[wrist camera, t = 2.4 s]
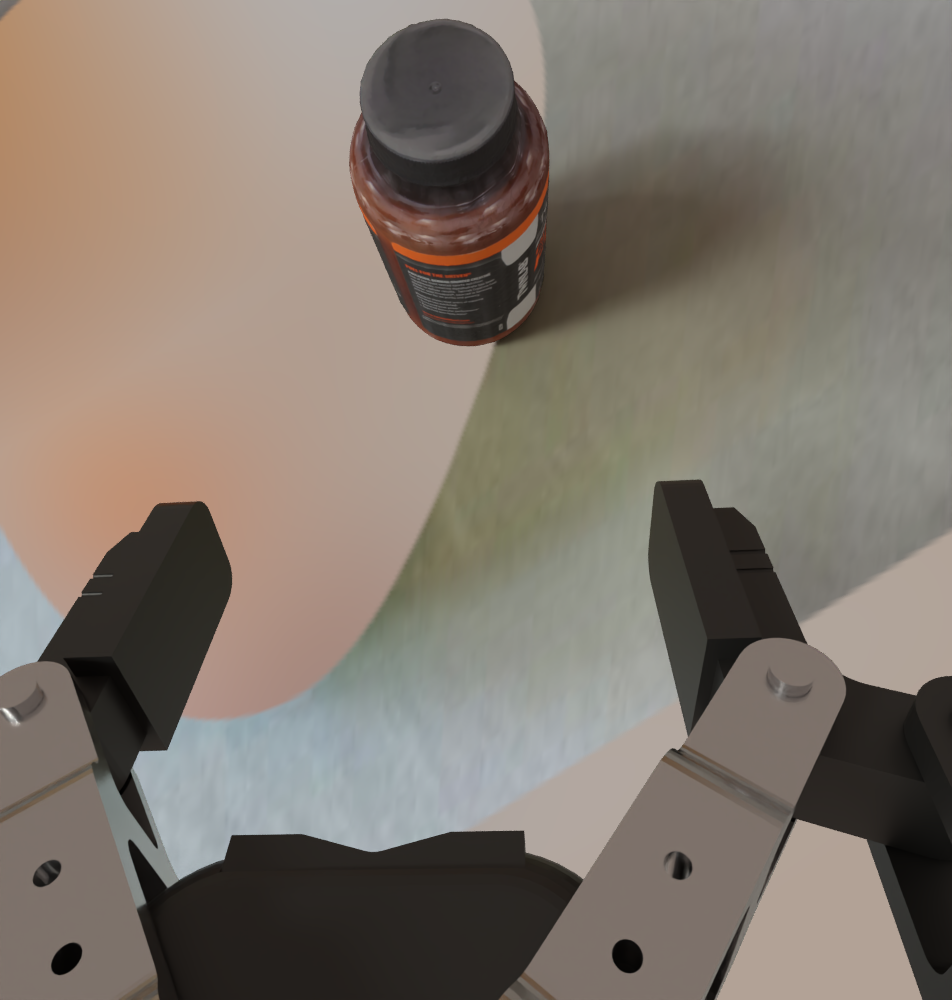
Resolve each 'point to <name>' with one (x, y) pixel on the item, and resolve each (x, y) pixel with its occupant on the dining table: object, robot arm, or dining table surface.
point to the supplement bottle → (453, 180)
